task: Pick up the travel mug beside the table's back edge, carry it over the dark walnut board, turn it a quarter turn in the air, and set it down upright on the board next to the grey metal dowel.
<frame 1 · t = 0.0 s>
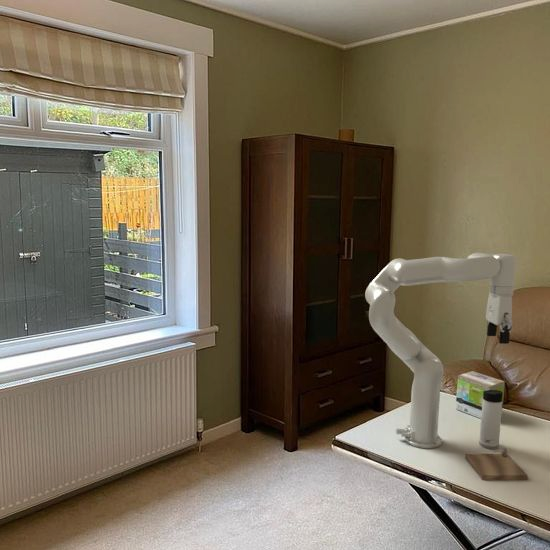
hand: (497, 339, 191), 37 cm above the table, tool pointing down, fingers open, 9 cm apart
walnut board: (494, 468, 177), on the table
tea box: (478, 413, 222), on the table
travel mug: (489, 446, 193), on the table
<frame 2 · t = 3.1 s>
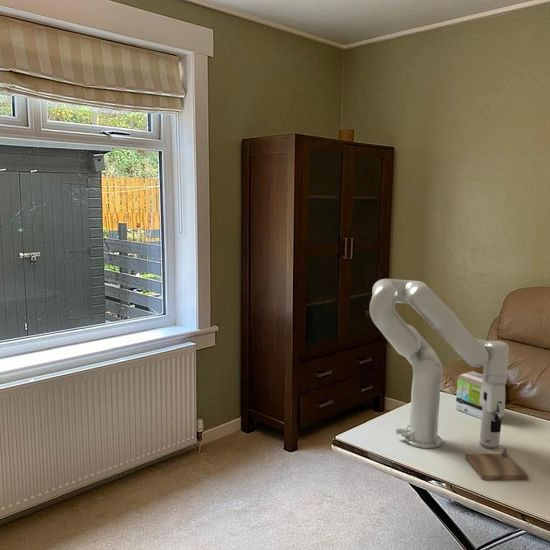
hand: (490, 427, 192), 7 cm above the table, tool pointing down, fingers closed on travel mug, 6 cm apart
travel mug: (489, 446, 193), on the table, touching gripper
everything else where it was.
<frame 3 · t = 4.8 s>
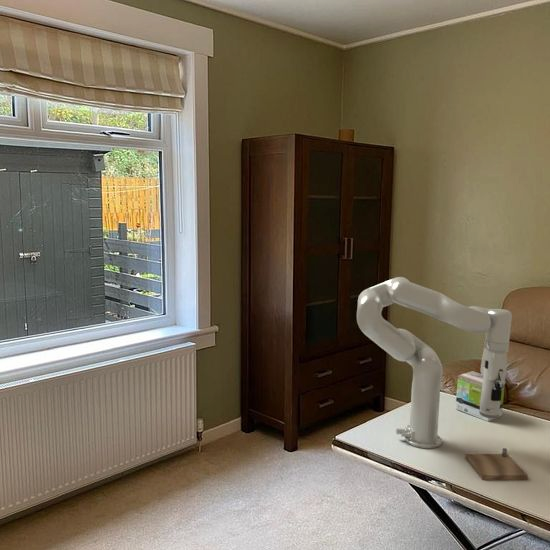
hand: (491, 396, 190), 18 cm above the table, tool pointing down, fingers closed on travel mug, 6 cm apart
travel mug: (489, 415, 191), point 11 cm above the table, touching gripper
everything else where it was.
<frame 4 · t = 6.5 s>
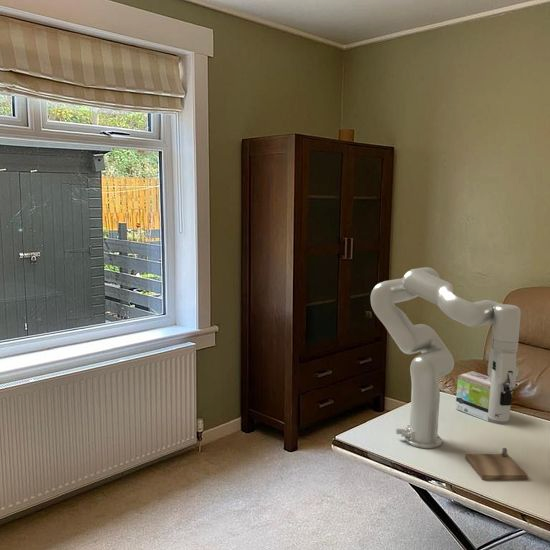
hand: (500, 400, 174), 23 cm above the table, tool pointing down, fingers closed on travel mug, 6 cm apart
travel mug: (498, 421, 175), point 16 cm above the table, touching gripper
everything else where it was.
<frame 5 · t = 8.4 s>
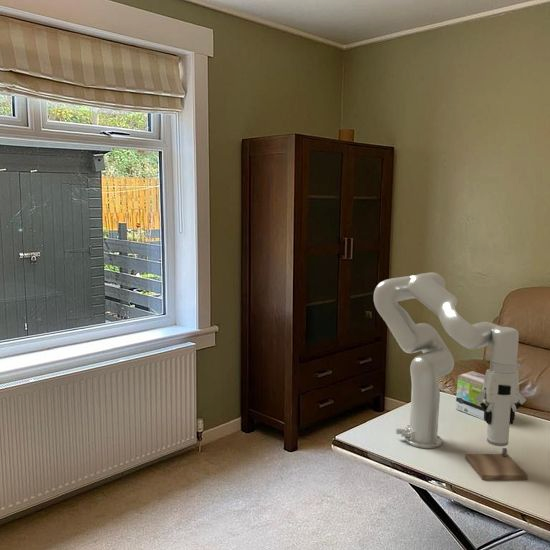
hand: (498, 422, 175), 15 cm above the table, tool pointing down, fingers closed on travel mug, 6 cm apart
travel mug: (497, 443, 175), point 9 cm above the table, touching gripper
everything else where it was.
when the fingers open (9 cm above the table, at t = 10.1 s): travel mug drops 1 cm, resting on walnut board.
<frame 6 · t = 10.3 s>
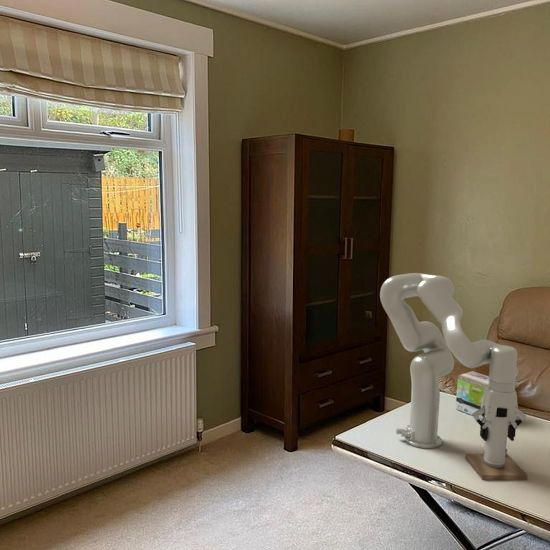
hand: (497, 438, 175), 10 cm above the table, tool pointing down, fingers open, 8 cm apart
travel mug: (493, 464, 177), point 1 cm above the table, touching walnut board
everything else where it was.
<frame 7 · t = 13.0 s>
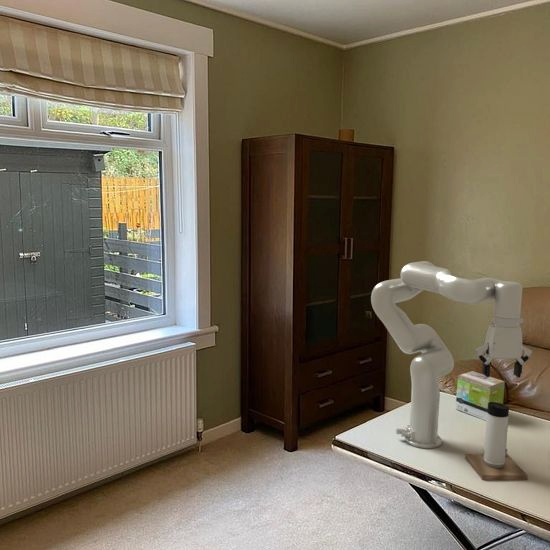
hand: (501, 375, 173), 30 cm above the table, tool pointing down, fingers open, 9 cm apart
nothing on the table moved.
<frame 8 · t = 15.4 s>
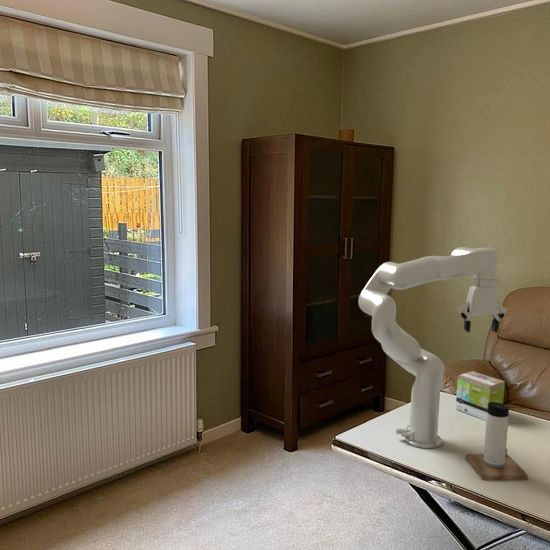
hand: (480, 331, 196), 38 cm above the table, tool pointing down, fingers open, 9 cm apart
nothing on the table moved.
at the end: travel mug 0.5 cm off-centre on the walnut board, point 1.3 cm above the walnut board's base; travel mug tilted 0°; the gripper is holding nothing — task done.
